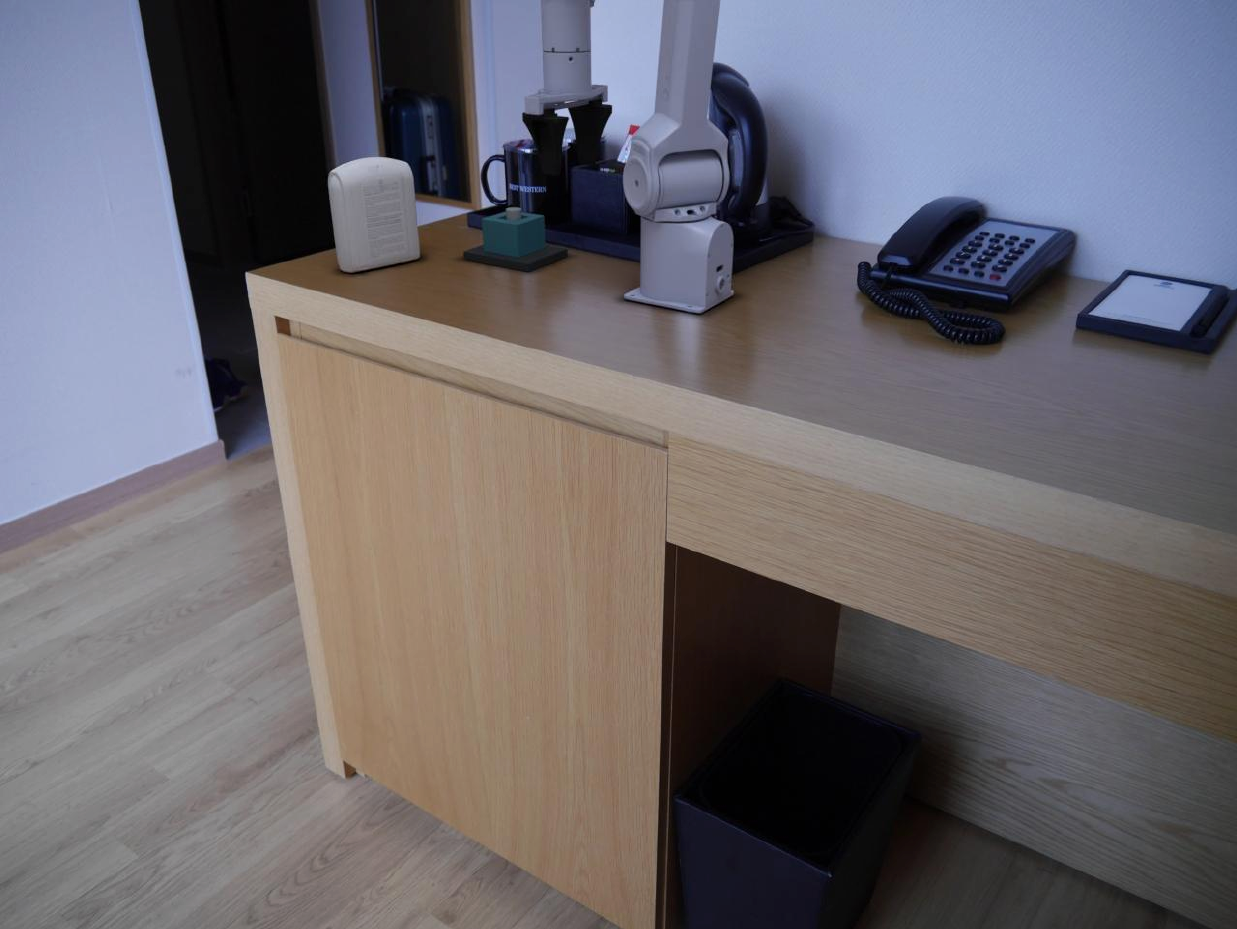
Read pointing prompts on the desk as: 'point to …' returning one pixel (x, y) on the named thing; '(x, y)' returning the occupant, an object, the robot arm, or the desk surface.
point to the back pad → (521, 263)
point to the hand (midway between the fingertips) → (569, 169)
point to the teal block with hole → (513, 234)
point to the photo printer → (373, 213)
